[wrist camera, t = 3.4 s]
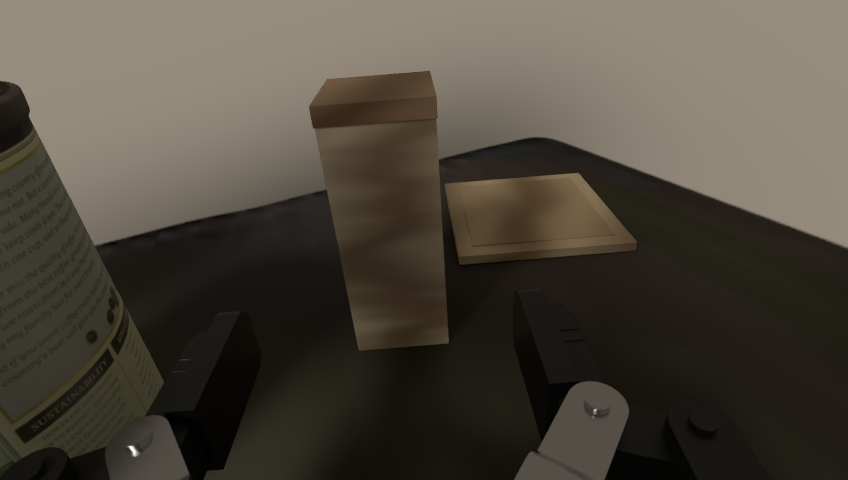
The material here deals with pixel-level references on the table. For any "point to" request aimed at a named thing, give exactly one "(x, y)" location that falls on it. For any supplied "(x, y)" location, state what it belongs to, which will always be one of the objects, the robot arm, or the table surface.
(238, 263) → the table surface
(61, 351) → the coffee can
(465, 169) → the table surface
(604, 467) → the robot arm
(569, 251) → the cork coaster
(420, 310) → the wooden box with lid
